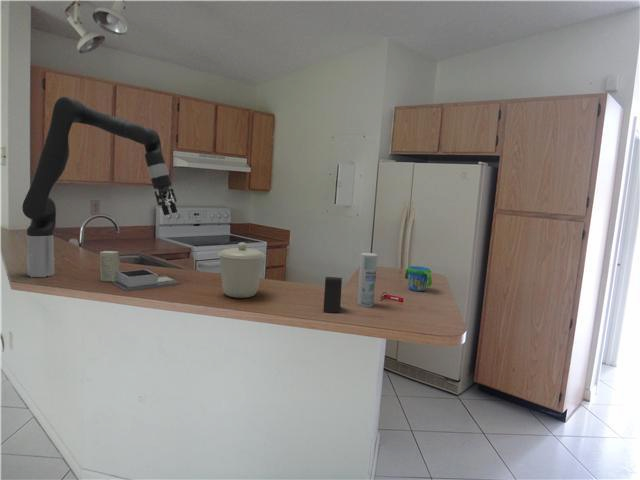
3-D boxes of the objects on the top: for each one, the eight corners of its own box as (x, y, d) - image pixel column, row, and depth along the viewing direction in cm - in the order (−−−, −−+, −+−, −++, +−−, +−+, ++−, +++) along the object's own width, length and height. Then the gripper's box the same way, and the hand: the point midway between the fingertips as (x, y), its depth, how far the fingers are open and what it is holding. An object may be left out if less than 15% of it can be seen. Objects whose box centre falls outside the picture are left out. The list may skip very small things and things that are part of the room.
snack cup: (437, 293, 191) (439, 271, 190) (417, 294, 187) (419, 272, 185) (416, 285, 205) (418, 264, 204) (397, 286, 201) (399, 265, 200)
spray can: (362, 307, 162) (366, 255, 159) (354, 302, 168) (357, 252, 165) (376, 306, 165) (380, 255, 162) (368, 301, 171) (372, 252, 168)
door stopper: (323, 305, 162) (325, 274, 160) (339, 306, 162) (341, 275, 160) (323, 312, 153) (325, 279, 151) (339, 313, 153) (342, 280, 151)
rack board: (126, 291, 164) (126, 278, 163) (112, 283, 174) (112, 271, 173) (179, 284, 179) (179, 272, 179) (164, 277, 189) (164, 266, 188)
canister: (223, 302, 157) (225, 246, 154) (212, 290, 173) (213, 239, 170) (269, 299, 165) (272, 245, 162) (254, 287, 181) (256, 238, 178)
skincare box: (120, 279, 180) (120, 251, 179) (114, 282, 176) (114, 253, 174) (105, 278, 181) (105, 250, 179) (99, 280, 177) (99, 251, 175)
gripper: (158, 178, 185) (169, 214, 187) (143, 178, 171) (155, 217, 173) (174, 173, 184) (185, 210, 187) (161, 174, 170) (172, 213, 172)
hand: (171, 213), depth 180 cm, fingers open, 8 cm apart
